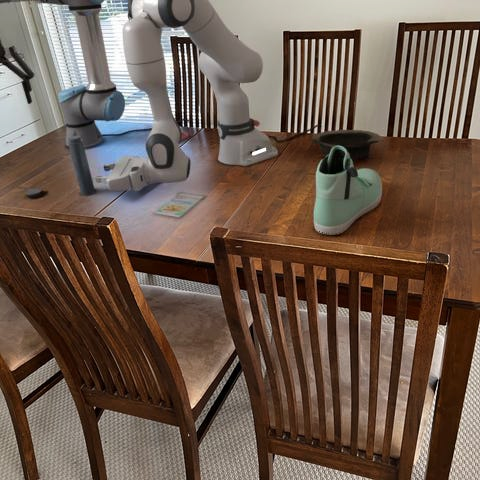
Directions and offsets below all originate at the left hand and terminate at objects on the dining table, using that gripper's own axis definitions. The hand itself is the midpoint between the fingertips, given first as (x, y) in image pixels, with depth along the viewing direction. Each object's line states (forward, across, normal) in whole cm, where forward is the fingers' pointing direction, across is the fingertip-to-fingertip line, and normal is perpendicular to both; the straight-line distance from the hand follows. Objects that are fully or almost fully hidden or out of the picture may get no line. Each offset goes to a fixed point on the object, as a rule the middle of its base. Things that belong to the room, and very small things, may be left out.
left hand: (7, 105), depth 147 cm
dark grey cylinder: (+30, +18, -4) cm, 35 cm away
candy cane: (+30, +50, +36) cm, 69 cm away
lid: (+29, 0, 0) cm, 29 cm away
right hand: (+24, +23, -4) cm, 34 cm away
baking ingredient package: (+30, +48, -23) cm, 61 cm away
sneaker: (+30, +96, -41) cm, 108 cm away
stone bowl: (+30, +109, -2) cm, 113 cm away
